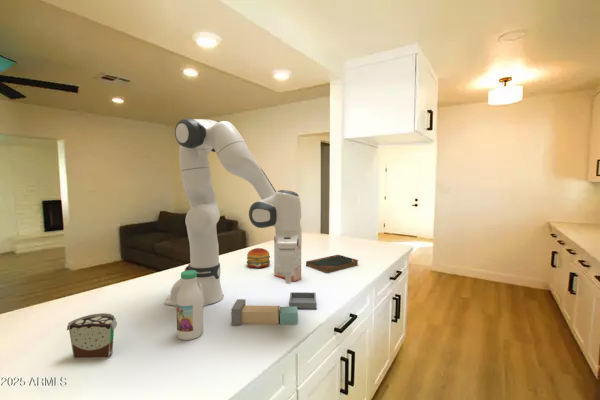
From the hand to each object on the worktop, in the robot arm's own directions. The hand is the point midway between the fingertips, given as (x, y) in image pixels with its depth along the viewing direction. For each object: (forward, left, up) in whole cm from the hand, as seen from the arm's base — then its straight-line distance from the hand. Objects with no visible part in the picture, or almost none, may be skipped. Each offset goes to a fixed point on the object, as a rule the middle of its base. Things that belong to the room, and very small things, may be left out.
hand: (289, 278), depth 100 cm
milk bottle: (-31, -10, -15) cm, 36 cm away
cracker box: (-4, +45, -15) cm, 48 cm away
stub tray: (+4, +14, -15) cm, 21 cm away
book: (+21, +66, -16) cm, 71 cm away
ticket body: (-12, 0, -15) cm, 19 cm away
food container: (-53, -20, -15) cm, 58 cm away
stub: (0, 0, -15) cm, 15 cm away
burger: (-22, +65, -15) cm, 70 cm away
